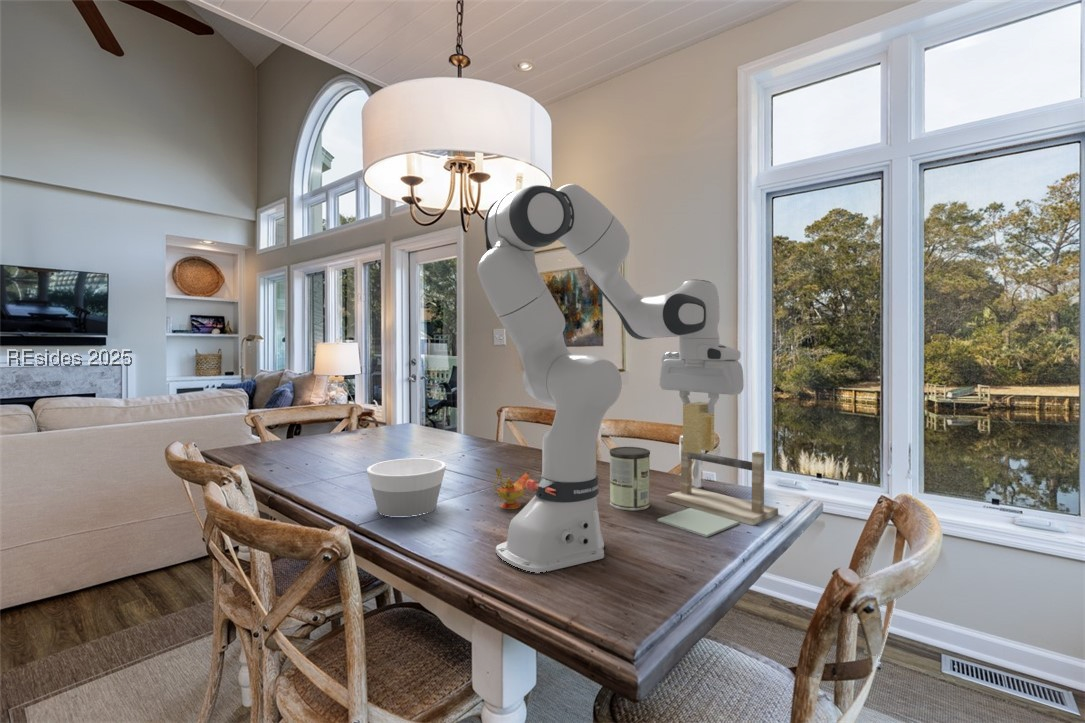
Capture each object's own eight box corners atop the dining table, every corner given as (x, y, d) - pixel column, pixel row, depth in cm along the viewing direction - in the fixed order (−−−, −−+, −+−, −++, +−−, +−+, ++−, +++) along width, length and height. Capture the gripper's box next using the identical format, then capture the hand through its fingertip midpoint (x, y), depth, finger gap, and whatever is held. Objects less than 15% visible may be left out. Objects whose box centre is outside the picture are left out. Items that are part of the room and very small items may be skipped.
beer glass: (700, 483, 150) (701, 433, 149) (705, 490, 143) (706, 437, 142) (676, 483, 150) (677, 433, 150) (680, 489, 143) (681, 437, 143)
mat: (706, 537, 107) (706, 534, 107) (657, 521, 117) (657, 518, 117) (739, 523, 115) (739, 521, 115) (690, 509, 125) (690, 507, 125)
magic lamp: (542, 497, 136) (542, 456, 136) (506, 516, 120) (506, 470, 120) (520, 493, 139) (520, 454, 139) (483, 511, 123) (482, 467, 123)
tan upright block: (697, 454, 112) (698, 405, 112) (682, 451, 115) (683, 403, 115) (714, 450, 116) (714, 403, 116) (699, 447, 119) (699, 401, 119)
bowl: (385, 527, 113) (384, 480, 112) (355, 507, 127) (355, 465, 127) (460, 510, 125) (460, 467, 125) (425, 493, 140) (424, 454, 139)
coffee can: (615, 496, 136) (616, 445, 136) (653, 501, 132) (654, 448, 132) (604, 507, 127) (604, 452, 127) (644, 513, 123) (644, 455, 122)
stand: (752, 525, 114) (753, 457, 114) (666, 500, 133) (666, 442, 132) (778, 514, 122) (778, 450, 121) (692, 492, 140) (693, 437, 140)
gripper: (653, 351, 121) (653, 408, 121) (732, 352, 105) (731, 417, 106) (670, 351, 125) (669, 406, 125) (747, 351, 109) (747, 415, 110)
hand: (698, 411), depth 115 cm, fingers closed on tan upright block, 4 cm apart
